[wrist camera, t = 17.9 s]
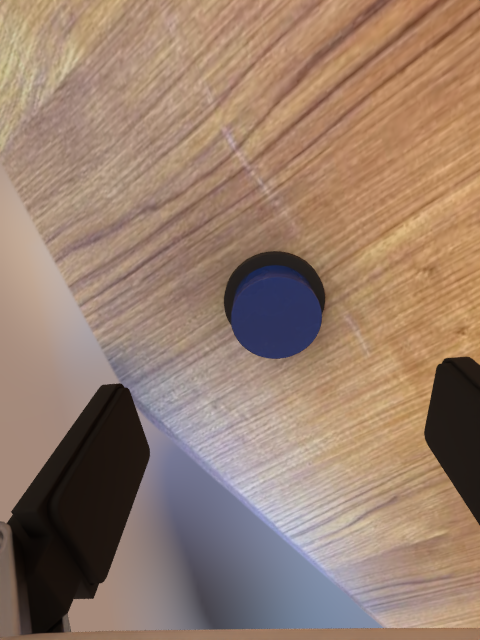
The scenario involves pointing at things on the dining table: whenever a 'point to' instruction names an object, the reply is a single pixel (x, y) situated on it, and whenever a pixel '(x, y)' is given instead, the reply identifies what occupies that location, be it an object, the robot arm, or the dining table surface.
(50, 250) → the dining table surface
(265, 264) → the coaster
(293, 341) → the jar lid
